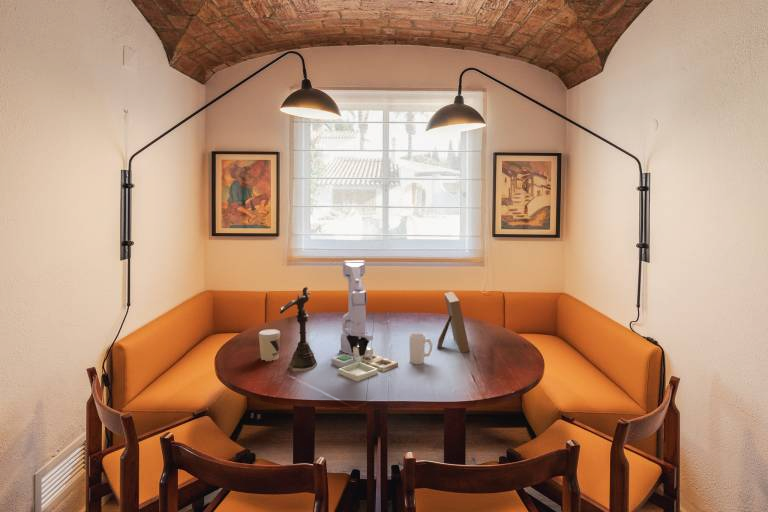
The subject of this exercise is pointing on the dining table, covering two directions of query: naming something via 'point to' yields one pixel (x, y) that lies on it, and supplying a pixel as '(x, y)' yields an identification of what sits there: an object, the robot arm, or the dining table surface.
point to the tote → (358, 371)
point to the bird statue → (301, 337)
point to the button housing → (342, 363)
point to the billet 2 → (368, 353)
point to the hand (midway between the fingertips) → (358, 354)
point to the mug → (418, 348)
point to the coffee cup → (269, 344)
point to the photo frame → (455, 323)
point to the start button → (344, 358)
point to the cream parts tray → (378, 360)
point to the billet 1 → (356, 354)
